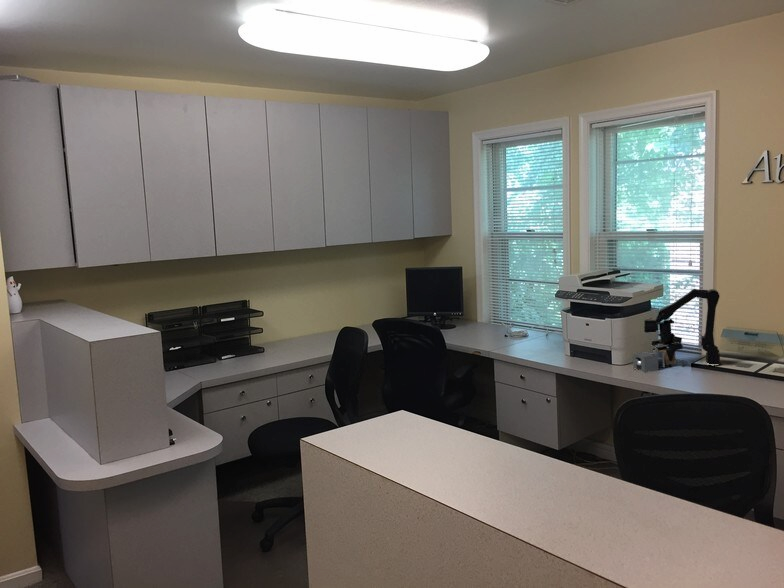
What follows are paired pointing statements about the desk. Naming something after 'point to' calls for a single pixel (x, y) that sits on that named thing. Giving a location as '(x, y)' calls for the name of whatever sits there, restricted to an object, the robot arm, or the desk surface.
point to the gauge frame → (645, 361)
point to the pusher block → (666, 358)
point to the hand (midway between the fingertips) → (667, 360)
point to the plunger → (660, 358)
